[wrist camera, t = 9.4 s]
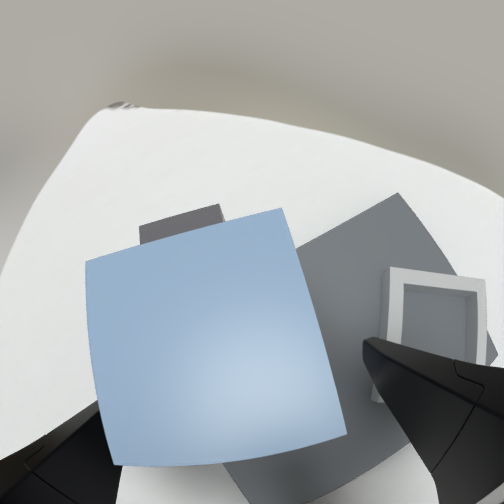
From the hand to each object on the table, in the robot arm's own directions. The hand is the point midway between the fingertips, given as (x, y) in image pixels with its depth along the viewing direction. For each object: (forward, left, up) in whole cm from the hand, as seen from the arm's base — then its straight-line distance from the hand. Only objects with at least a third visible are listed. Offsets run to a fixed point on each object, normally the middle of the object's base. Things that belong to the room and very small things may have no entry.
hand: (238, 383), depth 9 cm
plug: (0, +1, -8) cm, 8 cm away
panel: (+6, -2, -9) cm, 11 cm away
